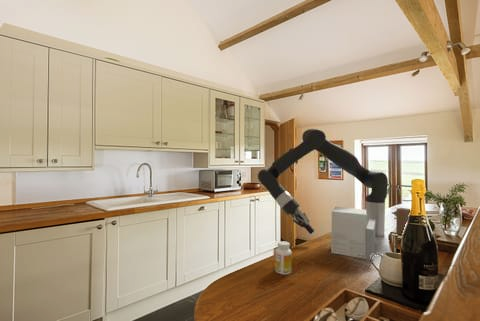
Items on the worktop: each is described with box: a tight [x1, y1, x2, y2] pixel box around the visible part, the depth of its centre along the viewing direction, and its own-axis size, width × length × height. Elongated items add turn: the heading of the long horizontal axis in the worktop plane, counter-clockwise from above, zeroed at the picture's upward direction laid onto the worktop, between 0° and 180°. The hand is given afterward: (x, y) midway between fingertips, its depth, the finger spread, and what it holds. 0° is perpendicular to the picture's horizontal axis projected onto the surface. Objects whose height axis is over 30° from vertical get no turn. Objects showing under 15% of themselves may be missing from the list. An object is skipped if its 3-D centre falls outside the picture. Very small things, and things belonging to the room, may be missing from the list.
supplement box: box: [330, 206, 367, 260], centre depth 108 cm, size 13×13×18 cm
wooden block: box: [395, 207, 411, 235], centre depth 110 cm, size 9×4×18 cm, turn 40°
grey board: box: [365, 218, 376, 261], centre depth 108 cm, size 22×2×12 cm, turn 150°
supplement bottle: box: [274, 240, 293, 276], centre depth 87 cm, size 5×5×10 cm
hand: (312, 232), depth 116 cm, fingers closed
